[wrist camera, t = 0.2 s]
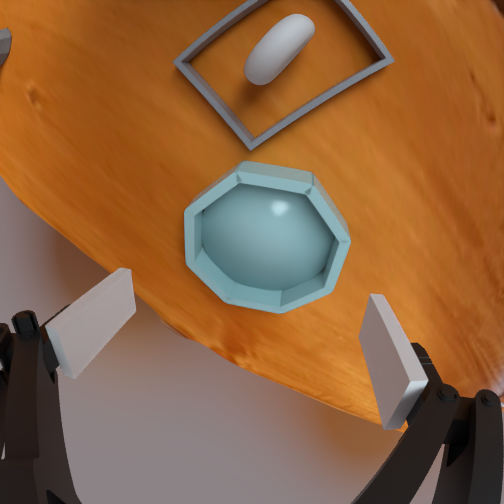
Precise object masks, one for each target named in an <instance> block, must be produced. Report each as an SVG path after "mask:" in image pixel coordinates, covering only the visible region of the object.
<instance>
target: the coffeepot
mask: <svg viewBox="0 0 504 504" xmlns="http://www.w3.org/2000/svg"><path fill="white" fill-rule="evenodd" d="M10 47H11V33H10V31H9V30H8V28H5V29H2V30H0V65H2V64H3V63H4V61H5V60H6V58H7V56H8V54H9V51H10Z"/></svg>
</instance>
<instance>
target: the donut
mask: <svg viewBox="0 0 504 504" xmlns="http://www.w3.org/2000/svg"><path fill="white" fill-rule="evenodd" d="M314 32H315V26H314V24H313V22H312V21H311V20H310V19H309V18H308V17H306V16H304V15H301V14H293V15H290V16H288V17H285V18H284V19H282V20H281V21H279V22H278V23H277V24H276V25H275V26H274V27H272V28H271V29H270V30H269V31H268V32H267V33H266V34H265V36H264V37H263V38H262V39H261V40H260V41H259V43H258V44H257V45H256V46H255V48H254V49H253V50H252V52H251V53H250V55H249V57H248V58H247V60H246V63H245V66H244V74H245V76H246V78H247V79H248V80H249V81H250V82H252V83H254V84H256V85H265V84H267V83H270V82H271V81H272V80H273V79H274V78H276V77H277V76H278V75H279V74H280V73H281V72H282V71H283V69H284V68H285V67H286V66H287V65H288V64H289V63H290V62H291V61H292V60H293V59H294V58H295V57H296V56H297V54H298V53H299V52H300V51H301V50H302V49H303V48H304V47H305V45H306V44H307V43H308V42H309V41H310V39H311V38H312V37H313V35H314Z"/></svg>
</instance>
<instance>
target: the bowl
mask: <svg viewBox="0 0 504 504" xmlns="http://www.w3.org/2000/svg"><path fill="white" fill-rule="evenodd" d="M204 208H205V210H204ZM184 229H185V259H186V264H187V266H188V267H189V268H190V269H191V270H192V271H193V272H194V273H195V274H196V275H197V276H198V277H199V278H200V279H201V280H202V281H203V282H204V283H205V284H206V285H207V286H208V287H209V288H210V289H211V290H212V291H213V292H214V293H216V294H217V295H218V296H219V297H220V298H221V299H222V300H223V301H224V302H226V303H228V304H233V305H237V306H242V307H247V308H252V309H258V310H263V311H268V312H273V313H279V314H281V313H282V314H283V313H285V312H288V311H290V310H293V309H295V308H297V307H300V306H302V305H304V304H307V303H309V302H311V301H314V300H316V299H318V298H321V297H323V296H325V295H327V294H330V293H331V291H332V292H333V289H334V287H335V284H336V281H337V279H338V276H339V274H340V271H341V268H342V266H343V263H344V260H345V257H346V255H347V252H348V249H349V246H350V243H351V239H350V234H349V230H348V225H347V223H346V221H345V219H344V218H343V216H342V215H341V213H340V212H339V210H338V209H337V207H336V206H335V204H334V203H333V201H332V200H331V198H330V197H329V195H328V194H327V192H326V191H325V189H324V188H323V186H322V185H321V183H320V182H319V181H318V179H317V178H316V176H315V175H314V173H313V174H312V172H309V171H304V170H299V169H293V168H288V167H282V166H277V165H271V164H265V163H258V162H252V161H245V160H244V161H241V162H240V163H238V164H237V165H236V166H234V167H233V168H232V169H230V170H229V171H228V172H226V173H225V174H224V175H222V176H221V177H220V178H218V179H217V180H216V181H214V182H213V183H212V184H210V185H209V186H208V187H207V188H205V189H204V190H203V191H201V192H200V193H199V194H198V195H196V196H195V198H194V199H193V200H192V201H191V203H190V204H189V205H188V206H187V208H186V209H185V211H184ZM203 246H204V247H203ZM323 268H324V269H323ZM322 269H323V270H322Z"/></svg>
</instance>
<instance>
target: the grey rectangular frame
mask: <svg viewBox="0 0 504 504" xmlns="http://www.w3.org/2000/svg"><path fill="white" fill-rule="evenodd" d="M267 1H268V0H248V1H246V2H245V3H243V4H242V5H241V6H239V7H238V8H236V9H235V10H234V11H232V12H231V13H230V14H228V15H227V16H226V17H224V18H223V19H222V20H220V21H219V22H218V23H216V24H215V25H214V26H213V27H211V28H210V29H209V30H208V31H207V32H205V33H204V34H203V35H202V36H201V37H199V38H198V39H197V40H196V41H195V42H194V43H192V44H191V45H190V46H189V47H188V48H187V49H186V50H185V51H184V52H182V53H181V54H180V55H179V56H178V57H177V58H176V59H175V60H174V61H173V63H174V65H175V66H176V67H177V68H178V69H179V70H180V71H181V72H182V73H183V74H184V75H185V76H186V77H187V78H188V79H189V81H190V82H191V83H192V84H193V85H194V86H195V87H196V88H197V89H198V90H199V92H200V93H201V94H202V95H203V96H204V97H205V98H206V99H207V101H208V102H209V103H210V104H211V105H212V106H213V107H214V108H215V110H216V111H217V112H218V113H219V114H220V115H221V116H222V118H223V119H224V120H225V121H226V122H227V123H228V125H229V126H230V127H231V128H232V129H233V131H234V132H235V133H236V134H237V135H238V136H239V138H240V139H241V140H242V141H243V142H244V144H245V145H246V146H247V147H248V149H249V150H250V151H251V150H252V149H254V148H255V147H257V146H258V145H259V144H261V143H262V142H264V141H265V140H267V139H268V138H269V137H271V136H272V135H274V134H275V133H277V132H278V131H280V130H281V129H283V128H284V127H285V126H287V125H288V124H290V123H291V122H293V121H294V120H296V119H298V118H299V117H301V116H302V115H304V114H305V113H307V112H308V111H310V110H311V109H313V108H315V107H316V106H318V105H319V104H321V103H323V102H324V101H326V100H327V99H329V98H331V97H332V96H334V95H336V94H337V93H339V92H341V91H342V90H344V89H346V88H347V87H349V86H351V85H352V84H354V83H356V82H358V81H359V80H361V79H363V78H365V77H367V76H368V75H370V74H372V73H374V72H376V71H377V70H379V69H381V68H383V67H385V66H387V65H389V64H390V63H392V62H394V61H395V60H394V59H393V57H392V56H391V54H390V53H389V51H388V50H387V49H386V47H385V46H384V44H383V43H382V42H381V40H380V39H379V37H378V36H377V35H376V33H375V32H374V31H373V29H372V28H371V27H370V25H369V24H368V23H367V22H366V20H365V19H364V18H363V17H362V15H361V14H360V13H359V12H358V11H357V9H356V8H355V7H354V6H353V5H352V4H351V3H350V1H349V0H334V1H335V2H336V3H337V4H338V5H339V6H340V7H341V8H342V10H343V11H344V12H345V13H346V14H347V15H348V17H349V18H350V19H351V20H352V21H353V23H354V24H355V25H356V26H357V28H358V29H359V30H360V31H361V33H362V34H363V35H364V37H365V38H366V39H367V41H368V42H369V43H370V45H371V46H372V47H373V49H374V50H375V52H376V53H377V54H378V56H379V57H380V60H378V61H376V62H374V63H373V64H371V65H369V66H367V67H365V68H363V69H362V70H360V71H358V72H356V73H355V74H353V75H351V76H349V77H348V78H346V79H344V80H343V81H341V82H339V83H337V84H336V85H334V86H332V87H331V88H329V89H328V90H326V91H324V92H323V93H321V94H319V95H318V96H316V97H315V98H313V99H312V100H310V101H308V102H307V103H305V104H304V105H302V106H301V107H299V108H298V109H296V110H295V111H293V112H292V113H290V114H289V115H287V116H286V117H284V118H283V119H281V120H280V121H278V122H277V123H275V124H274V125H272V126H271V127H270V128H268V129H267V130H265V131H264V132H262V133H261V134H260V135H258V136H257V137H255V138H254V137H253V136H252V134H251V133H250V132H249V131H248V129H247V128H246V127H245V126H244V125H243V123H242V122H241V121H240V120H239V119H238V118H237V116H236V115H235V114H234V113H233V112H232V110H231V109H230V108H229V107H228V106H227V105H226V104H225V102H224V101H223V100H222V99H221V98H220V97H219V96H218V94H217V93H216V92H215V91H214V90H213V89H212V88H211V87H210V85H209V84H208V83H207V82H206V81H205V80H204V79H203V78H202V77H201V76H200V74H199V73H198V72H197V71H196V70H195V69H194V68H193V67H192V66H191V65H190V64H189V63H188V62H189V61H190V60H191V59H192V58H193V57H194V56H195V55H197V54H198V53H199V52H200V51H201V50H202V49H204V48H205V47H206V46H207V45H208V44H210V43H211V42H212V41H213V40H214V39H216V38H217V37H218V36H219V35H221V34H222V33H223V32H224V31H226V30H227V29H228V28H230V27H231V26H232V25H234V24H235V23H236V22H238V21H239V20H240V19H242V18H243V17H245V16H246V15H248V14H249V13H250V12H252V11H253V10H255V9H256V8H258V7H259V6H261V5H262V4H264V3H265V2H267Z"/></svg>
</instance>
